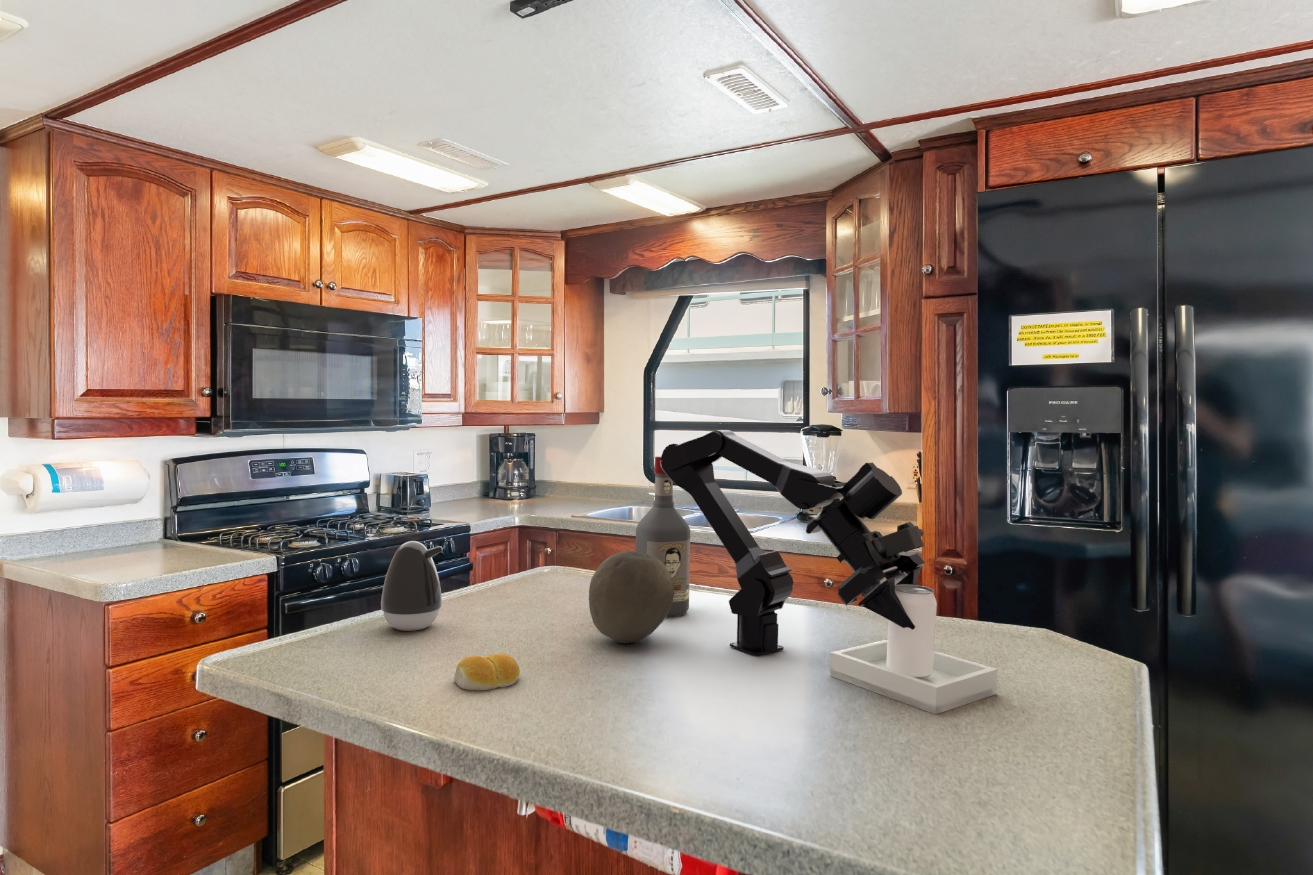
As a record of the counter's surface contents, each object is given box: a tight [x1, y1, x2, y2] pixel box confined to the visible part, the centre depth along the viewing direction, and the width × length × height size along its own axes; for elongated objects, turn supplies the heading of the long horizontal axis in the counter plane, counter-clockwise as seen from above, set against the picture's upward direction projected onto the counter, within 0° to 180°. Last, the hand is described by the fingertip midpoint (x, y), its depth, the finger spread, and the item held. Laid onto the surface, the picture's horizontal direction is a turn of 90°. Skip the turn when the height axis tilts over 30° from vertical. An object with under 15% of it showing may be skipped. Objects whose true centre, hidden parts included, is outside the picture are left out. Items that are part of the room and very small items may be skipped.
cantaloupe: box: [588, 550, 674, 644], centre depth 134 cm, size 14×14×15 cm
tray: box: [829, 638, 998, 715], centre depth 115 cm, size 18×14×4 cm
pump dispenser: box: [380, 540, 444, 632], centre depth 140 cm, size 10×10×15 cm
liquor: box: [635, 456, 691, 618], centre depth 154 cm, size 9×9×30 cm
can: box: [886, 584, 938, 678], centre depth 114 cm, size 6×6×12 cm
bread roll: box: [453, 653, 521, 691], centre depth 113 cm, size 8×9×4 cm
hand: (920, 625), depth 114 cm, fingers closed on can, 5 cm apart
